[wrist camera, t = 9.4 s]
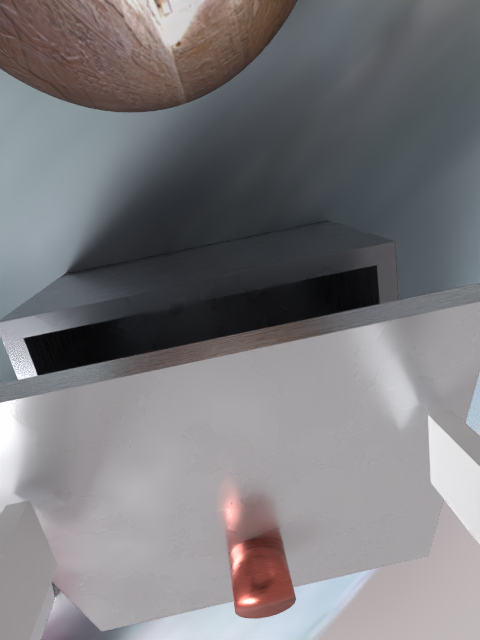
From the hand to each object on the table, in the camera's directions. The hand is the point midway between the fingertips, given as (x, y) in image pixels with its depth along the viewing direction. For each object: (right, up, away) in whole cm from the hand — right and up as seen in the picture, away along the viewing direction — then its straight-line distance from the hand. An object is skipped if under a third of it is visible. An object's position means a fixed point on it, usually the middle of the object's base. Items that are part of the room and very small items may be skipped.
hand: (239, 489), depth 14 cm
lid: (0, -1, +3) cm, 3 cm away
